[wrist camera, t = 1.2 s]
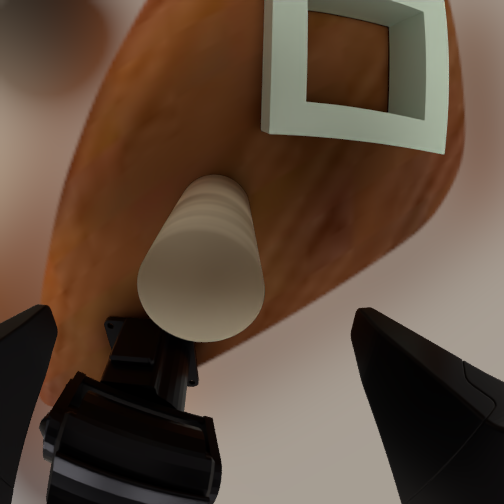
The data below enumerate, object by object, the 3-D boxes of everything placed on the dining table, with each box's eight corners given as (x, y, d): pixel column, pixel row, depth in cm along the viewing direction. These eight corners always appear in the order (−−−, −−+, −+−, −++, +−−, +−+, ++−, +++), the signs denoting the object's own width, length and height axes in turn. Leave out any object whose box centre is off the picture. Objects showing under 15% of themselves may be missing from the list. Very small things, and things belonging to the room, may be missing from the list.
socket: (406, 144, 17) (444, 154, 13) (260, 130, 16) (269, 133, 12) (408, 13, 13) (443, -2, 9) (264, -15, 12) (273, -46, 9)
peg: (248, 241, 19) (261, 341, 10) (181, 241, 18) (147, 340, 10) (250, 174, 17) (267, 231, 9) (178, 175, 17) (128, 232, 9)
